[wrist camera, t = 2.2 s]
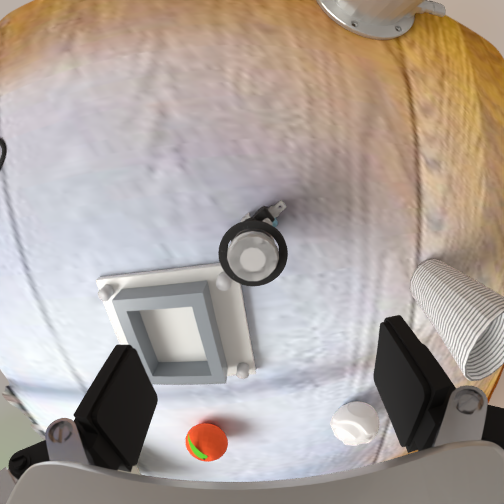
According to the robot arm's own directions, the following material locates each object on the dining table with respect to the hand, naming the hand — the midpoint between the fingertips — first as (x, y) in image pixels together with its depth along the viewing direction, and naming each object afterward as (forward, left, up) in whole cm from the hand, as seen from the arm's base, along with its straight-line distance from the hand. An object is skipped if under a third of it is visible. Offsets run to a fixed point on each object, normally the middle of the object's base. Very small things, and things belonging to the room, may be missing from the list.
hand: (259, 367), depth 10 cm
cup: (-21, +10, -22) cm, 32 cm away
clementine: (+13, +33, -22) cm, 42 cm away
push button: (0, 0, -22) cm, 22 cm away
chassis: (+12, +12, -22) cm, 28 cm away
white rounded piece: (-11, +32, -22) cm, 40 cm away
